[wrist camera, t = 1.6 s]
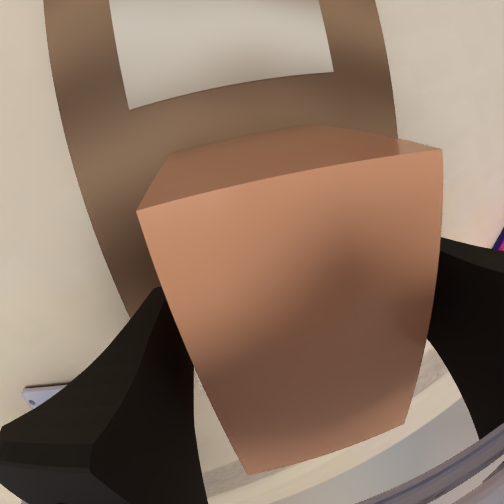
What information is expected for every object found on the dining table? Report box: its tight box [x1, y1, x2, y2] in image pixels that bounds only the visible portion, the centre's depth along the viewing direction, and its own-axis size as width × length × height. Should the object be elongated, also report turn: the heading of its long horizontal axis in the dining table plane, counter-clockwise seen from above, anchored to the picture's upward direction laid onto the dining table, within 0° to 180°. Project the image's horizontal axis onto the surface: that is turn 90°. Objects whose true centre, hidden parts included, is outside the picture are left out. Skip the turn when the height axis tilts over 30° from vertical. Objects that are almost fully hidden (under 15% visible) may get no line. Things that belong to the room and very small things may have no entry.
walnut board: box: [44, 0, 398, 318], centre depth 11 cm, size 23×13×1 cm, turn 11°
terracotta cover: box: [136, 124, 443, 475], centre depth 10 cm, size 9×6×7 cm, turn 11°
